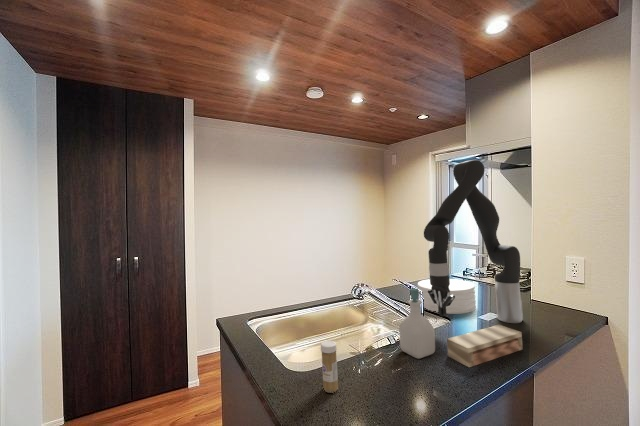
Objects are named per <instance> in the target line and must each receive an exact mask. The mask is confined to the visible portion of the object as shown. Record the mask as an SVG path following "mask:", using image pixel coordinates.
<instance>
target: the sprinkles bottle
mask: <svg viewBox="0 0 640 426" xmlns="http://www.w3.org/2000/svg"><path fill="white" fill-rule="evenodd" d="M337 348H338V347H337V343H336V342H335V341H333V340H324V341H322V342H321V343H320V351H321V363H322V364H321V365H322V368H321V370H322V372H321V373H322V389H323V388H324V390H326V391H330V392H331V391H332V392H333V391H336V390H337V389H338V390H339V384H338V383H339V382H338V378H339V377H338V360H337V359H338V358H337ZM324 390H323V391H324Z"/></svg>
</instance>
